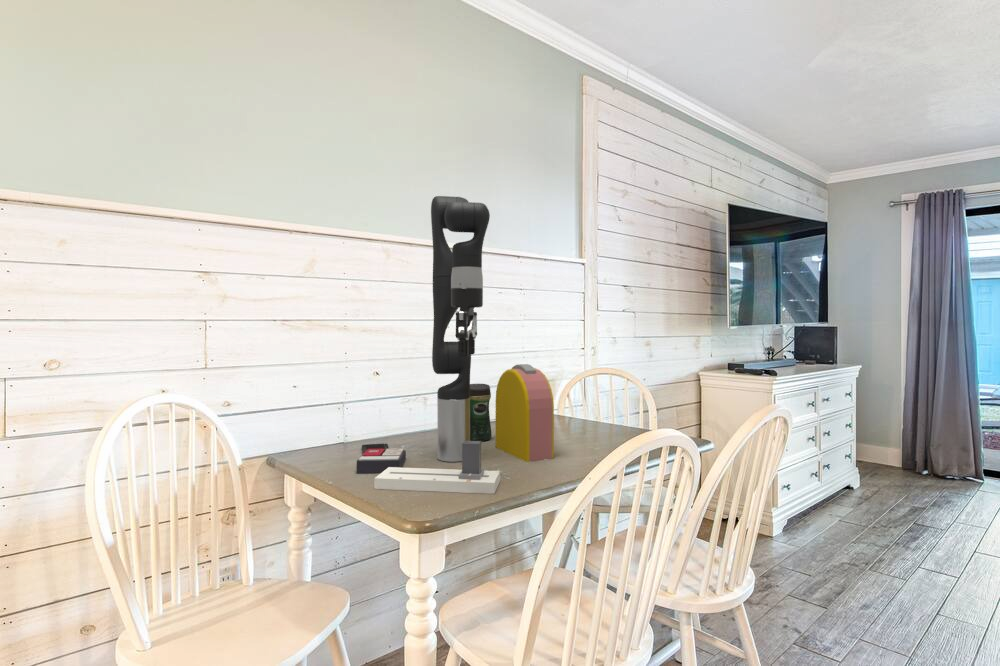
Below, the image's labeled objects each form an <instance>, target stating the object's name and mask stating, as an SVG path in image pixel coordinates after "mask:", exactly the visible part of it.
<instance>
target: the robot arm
mask: <svg viewBox="0 0 1000 666" xmlns="http://www.w3.org/2000/svg"><path fill="white" fill-rule="evenodd" d="M431 200H432V201H431V204H430V221H431V235H432V238H431V239H432V305H433V307H432V308H433V329H432V331H433V332H432V348H431V352H432V353H431V354H432V355H431V359H432V360H431V362H432V370H433V372H434V373H435V374H437V375H458V376H457V378H455V380H454V381H451V382H450V383H447V384H446V385H443V386H440V387H439V388H437V391H436V393H437V397H436V398H437V399H436V400H437V402H436V403H437V406H436V407H437V459H438V460H439V461H442V462H447V463H448V462H451V463H452V462H453V463H455V462H462V443H463V442H464V441H470V384H471V368H472V367H471V366H472V355H474V354H475V353H476V351H475V350H476V344H475V343H476V338H477V336H478V325H477V324H478V323H477V322H478V313H477V312H476V311H474V309H475V308H482V307H484V306H483V305H484V294H483V293H484V289H483V288H484V283H483V282H484V279H483V277H484V276H483V265H482V264H483V246H484V240H485V236H486V232H487V230H488V227H489V222H490V217H491V215H490V210H489V209H488V206H487V205H486V204H485V203H482V202H469V200H468V199H467V198H465V197H461V196H447V195H437V196H436V195H435V196H434V197H432V199H431ZM444 229H445V230H448V231H449V232H453V233H471V234H472V233H473V236H472V238H471V239H469V240H466V241H461V242H457V243H454V244H453V245H452V250H451V248H450V246H449V244H448V242H447V239H446V236H445V233H444ZM458 310H459V311H458ZM454 315H455V334H454V335H455V338H456V339H457V341H445V335H446V331H447V328H448V326H449V324H450V322H451V321H452V318H453V317H454Z"/></svg>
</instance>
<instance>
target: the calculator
mask: <svg viewBox="0 0 1000 666" xmlns="http://www.w3.org/2000/svg"><path fill="white" fill-rule="evenodd" d="M406 456H407V452H406V449H404V448H402V447H401V448H389V449H386V450H385V449H368V450H367V451H366V452H365V453H364V454H363V455H360V457H359V458H358V459H357V460H356V474H357V475H362V474H363V475H369V474H370V475H374V474H376V475H379V474H381V473H382V472H383V471H384V470H386V469H387V468H388V467H400V468H403V466H404V464H405V462H406V459H407V458H406Z"/></svg>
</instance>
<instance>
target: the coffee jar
mask: <svg viewBox="0 0 1000 666" xmlns="http://www.w3.org/2000/svg"><path fill="white" fill-rule="evenodd" d="M491 393H492V392H491V387H490V385H489V384H486V383H470V441H481V442H485V441H489V440H491V439H492V428H491V427H492V426H491V418H490V400H491V398H492V394H491Z"/></svg>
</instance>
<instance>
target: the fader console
mask: <svg viewBox="0 0 1000 666" xmlns="http://www.w3.org/2000/svg"><path fill="white" fill-rule="evenodd" d="M461 471H462V469H454V468H453V469H451V468H450V469H449V468H448V469H447V468H423V467H422V468H421V467H402V468H400V467H388V468H387V469H386V470H384V471H383V472H382V473H381V474H377V476H375V477H374V479H373V480H374V483H373V484H374V490H390V491H392V490H394V491H413V492H414V491H415V492H416V491H419V492H437V493H438V492H439V493H440V492H441V493H442V492H443V493H460V494H461V493H465V494H484V495H485V494H489V495H495V493H496V492H497V488H498V486H499V484H500V482H501V471H500V470H484V474H483V475H482V477H481V479H480V480H479V479H459V474H460V473H461Z"/></svg>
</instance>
